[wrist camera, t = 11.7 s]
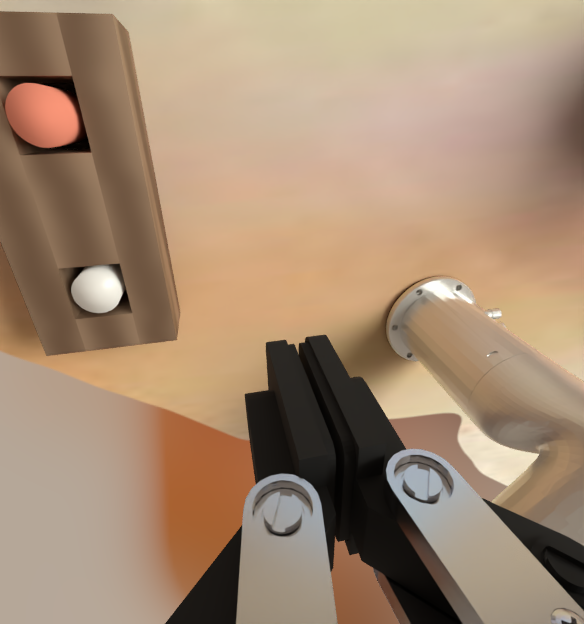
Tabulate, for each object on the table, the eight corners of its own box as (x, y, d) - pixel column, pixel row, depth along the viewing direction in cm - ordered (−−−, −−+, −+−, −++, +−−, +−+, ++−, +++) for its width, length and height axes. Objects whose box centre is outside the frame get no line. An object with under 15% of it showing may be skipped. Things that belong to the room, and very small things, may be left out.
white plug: (126, 250, 37) (114, 270, 32) (134, 287, 39) (125, 310, 34) (83, 254, 37) (65, 274, 32) (94, 290, 38) (78, 315, 34)
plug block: (128, 32, 30) (112, 14, 25) (180, 312, 42) (176, 340, 37) (-38, 29, 28) (-93, 9, 23) (66, 325, 40) (46, 355, 35)
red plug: (84, 88, 30) (61, 82, 25) (97, 142, 32) (78, 146, 27) (29, 88, 29) (-5, 83, 24) (46, 144, 31) (17, 148, 26)
